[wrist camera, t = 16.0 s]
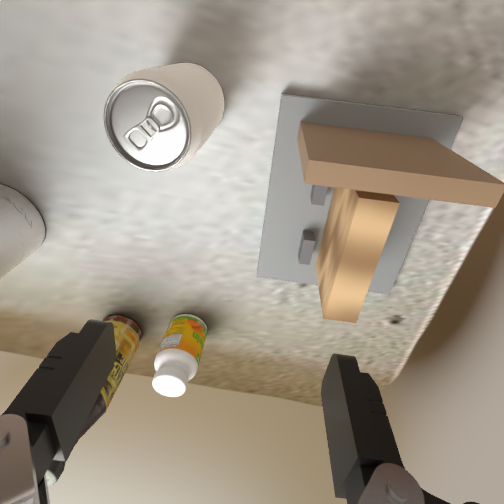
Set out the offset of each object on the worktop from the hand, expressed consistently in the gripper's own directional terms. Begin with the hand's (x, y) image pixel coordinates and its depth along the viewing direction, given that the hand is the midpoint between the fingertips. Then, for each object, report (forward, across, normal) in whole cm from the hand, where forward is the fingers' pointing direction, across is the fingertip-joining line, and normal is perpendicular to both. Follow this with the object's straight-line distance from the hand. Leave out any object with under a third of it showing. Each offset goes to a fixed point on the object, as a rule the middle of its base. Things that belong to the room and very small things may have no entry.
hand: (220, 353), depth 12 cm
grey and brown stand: (+25, -10, +4) cm, 27 cm away
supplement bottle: (+26, +6, +25) cm, 36 cm away
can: (+25, +7, -5) cm, 27 cm away
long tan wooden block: (+24, -10, +4) cm, 26 cm away
